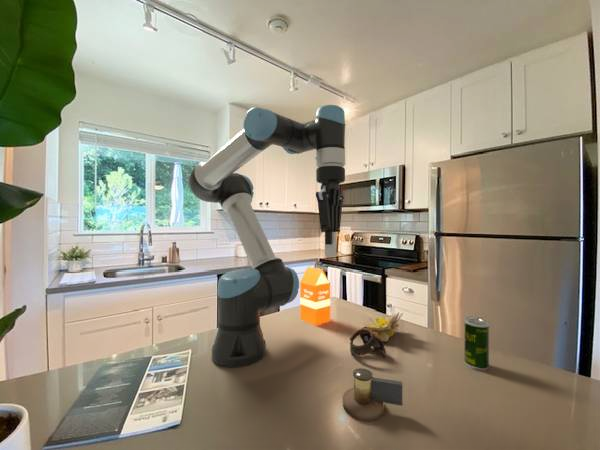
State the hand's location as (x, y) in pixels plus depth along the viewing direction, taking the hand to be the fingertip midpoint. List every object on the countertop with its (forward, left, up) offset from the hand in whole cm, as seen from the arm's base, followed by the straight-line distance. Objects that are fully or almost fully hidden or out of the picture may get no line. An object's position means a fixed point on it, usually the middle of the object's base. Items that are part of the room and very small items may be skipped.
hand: (330, 256), depth 72 cm
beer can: (+32, +20, -29) cm, 47 cm away
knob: (+16, -11, -27) cm, 33 cm away
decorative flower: (+6, +26, -29) cm, 39 cm away
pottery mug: (+6, +11, -29) cm, 31 cm away
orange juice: (-20, +25, -29) cm, 43 cm away
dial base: (+13, -12, -28) cm, 33 cm away
